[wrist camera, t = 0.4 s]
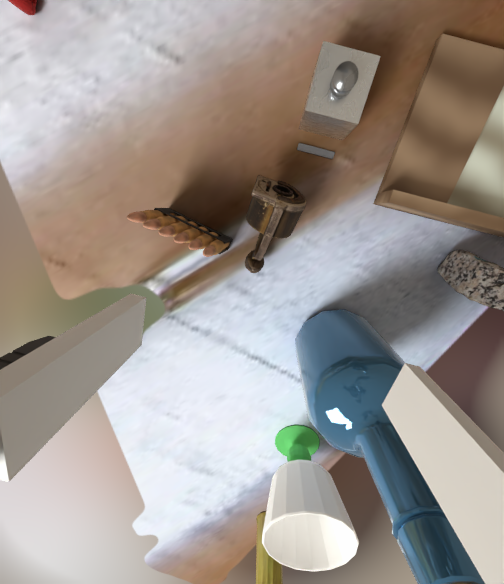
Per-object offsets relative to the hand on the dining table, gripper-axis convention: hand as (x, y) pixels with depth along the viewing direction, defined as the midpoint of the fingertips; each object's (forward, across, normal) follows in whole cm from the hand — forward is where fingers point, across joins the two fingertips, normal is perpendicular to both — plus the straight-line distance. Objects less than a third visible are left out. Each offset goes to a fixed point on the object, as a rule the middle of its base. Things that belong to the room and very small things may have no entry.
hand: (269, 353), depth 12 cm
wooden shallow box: (+27, +22, +21) cm, 40 cm away
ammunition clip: (+27, -12, +2) cm, 29 cm away
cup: (+26, +15, -35) cm, 47 cm away
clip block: (+27, +2, +20) cm, 34 cm away
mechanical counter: (+27, -1, +4) cm, 27 cm away
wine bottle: (+27, +14, -12) cm, 32 cm away
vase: (+26, +16, -61) cm, 69 cm away
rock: (+27, +30, +5) cm, 41 cm away
